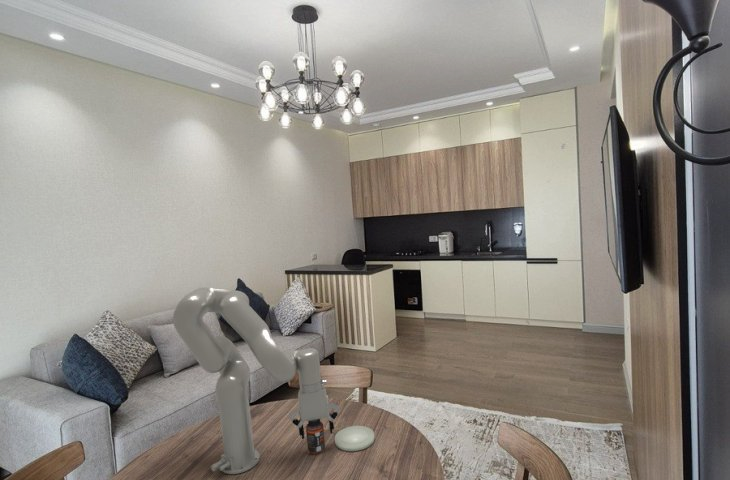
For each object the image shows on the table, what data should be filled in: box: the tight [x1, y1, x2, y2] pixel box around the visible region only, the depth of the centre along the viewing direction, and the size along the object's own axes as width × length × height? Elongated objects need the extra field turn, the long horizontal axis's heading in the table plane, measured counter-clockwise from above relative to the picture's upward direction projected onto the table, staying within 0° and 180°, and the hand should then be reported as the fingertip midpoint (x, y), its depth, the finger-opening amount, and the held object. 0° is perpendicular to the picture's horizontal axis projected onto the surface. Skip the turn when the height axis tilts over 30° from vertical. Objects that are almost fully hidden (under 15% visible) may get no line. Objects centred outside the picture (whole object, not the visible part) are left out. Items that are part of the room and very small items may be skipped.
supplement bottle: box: [305, 419, 326, 455], centre depth 137 cm, size 6×6×11 cm
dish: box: [334, 425, 375, 452], centre depth 141 cm, size 14×14×2 cm
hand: (317, 434), depth 137 cm, fingers open, 9 cm apart
